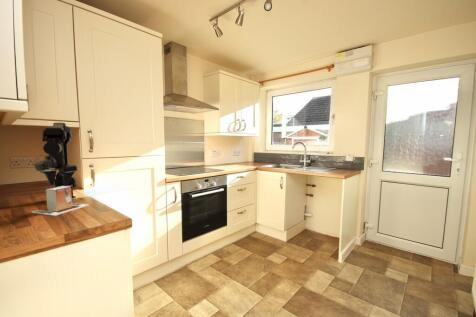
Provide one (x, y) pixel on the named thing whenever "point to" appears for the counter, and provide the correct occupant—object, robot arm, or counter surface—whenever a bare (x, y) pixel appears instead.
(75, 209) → the bracket
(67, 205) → the small box
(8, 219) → the counter surface
